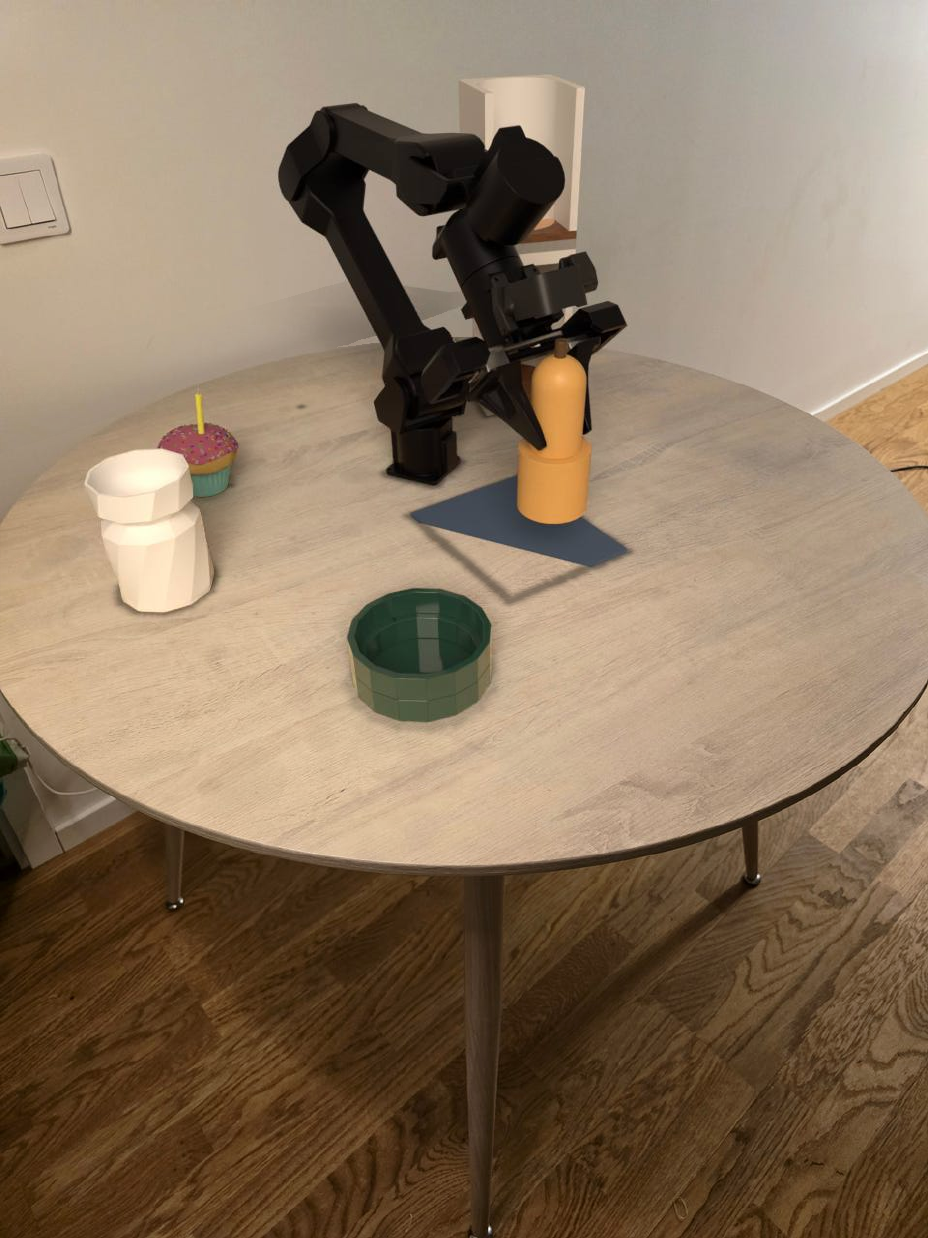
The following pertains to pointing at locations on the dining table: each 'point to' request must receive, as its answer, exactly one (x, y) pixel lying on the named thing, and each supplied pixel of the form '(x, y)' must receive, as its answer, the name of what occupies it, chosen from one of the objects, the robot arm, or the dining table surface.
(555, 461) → the squash
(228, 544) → the dining table surface
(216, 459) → the cupcake
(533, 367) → the white tower
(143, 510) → the vase
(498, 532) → the towel
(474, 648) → the pot
